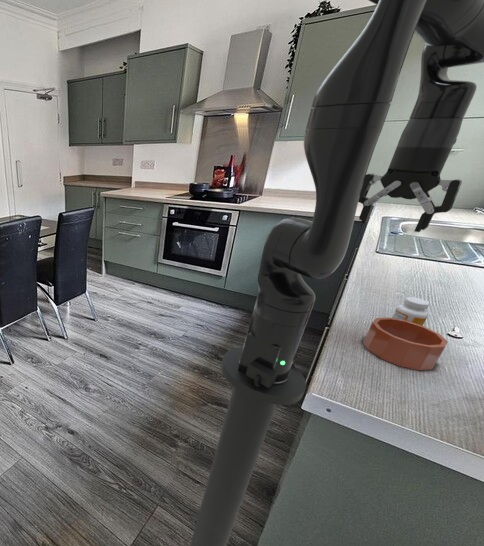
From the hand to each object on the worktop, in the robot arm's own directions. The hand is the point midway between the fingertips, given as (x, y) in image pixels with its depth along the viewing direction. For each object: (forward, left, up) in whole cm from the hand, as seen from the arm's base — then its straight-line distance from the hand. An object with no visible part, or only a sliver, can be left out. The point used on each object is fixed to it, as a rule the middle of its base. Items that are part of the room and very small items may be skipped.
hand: (389, 226), depth 66 cm
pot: (+2, -10, -28) cm, 30 cm away
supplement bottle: (+13, -8, -28) cm, 32 cm away
